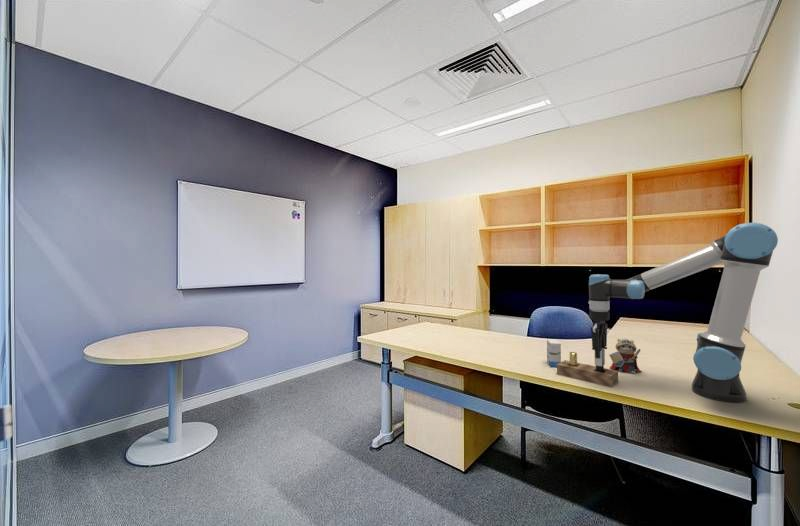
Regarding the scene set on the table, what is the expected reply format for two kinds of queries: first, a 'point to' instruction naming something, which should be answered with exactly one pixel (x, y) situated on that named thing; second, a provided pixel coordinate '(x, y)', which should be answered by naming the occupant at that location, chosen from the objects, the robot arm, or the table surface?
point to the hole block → (588, 373)
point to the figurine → (625, 356)
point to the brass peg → (573, 359)
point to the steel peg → (601, 368)
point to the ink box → (553, 352)
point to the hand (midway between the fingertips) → (599, 364)
